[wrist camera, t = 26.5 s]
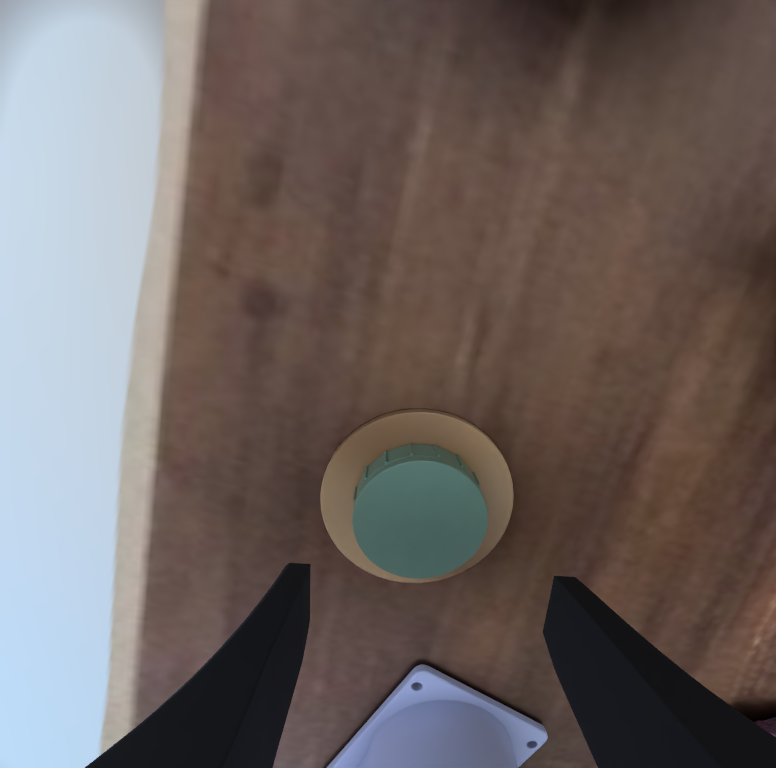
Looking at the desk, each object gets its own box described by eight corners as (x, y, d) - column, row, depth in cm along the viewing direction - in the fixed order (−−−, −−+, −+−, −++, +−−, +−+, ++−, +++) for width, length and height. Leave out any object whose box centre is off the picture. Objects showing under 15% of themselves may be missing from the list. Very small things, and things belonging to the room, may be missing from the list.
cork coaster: (438, 604, 18) (439, 612, 17) (286, 521, 17) (284, 527, 16) (550, 473, 16) (553, 478, 16) (389, 370, 15) (389, 372, 14)
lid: (487, 446, 15) (498, 463, 14) (472, 556, 17) (480, 583, 15) (356, 438, 15) (353, 455, 14) (352, 550, 16) (349, 577, 15)
